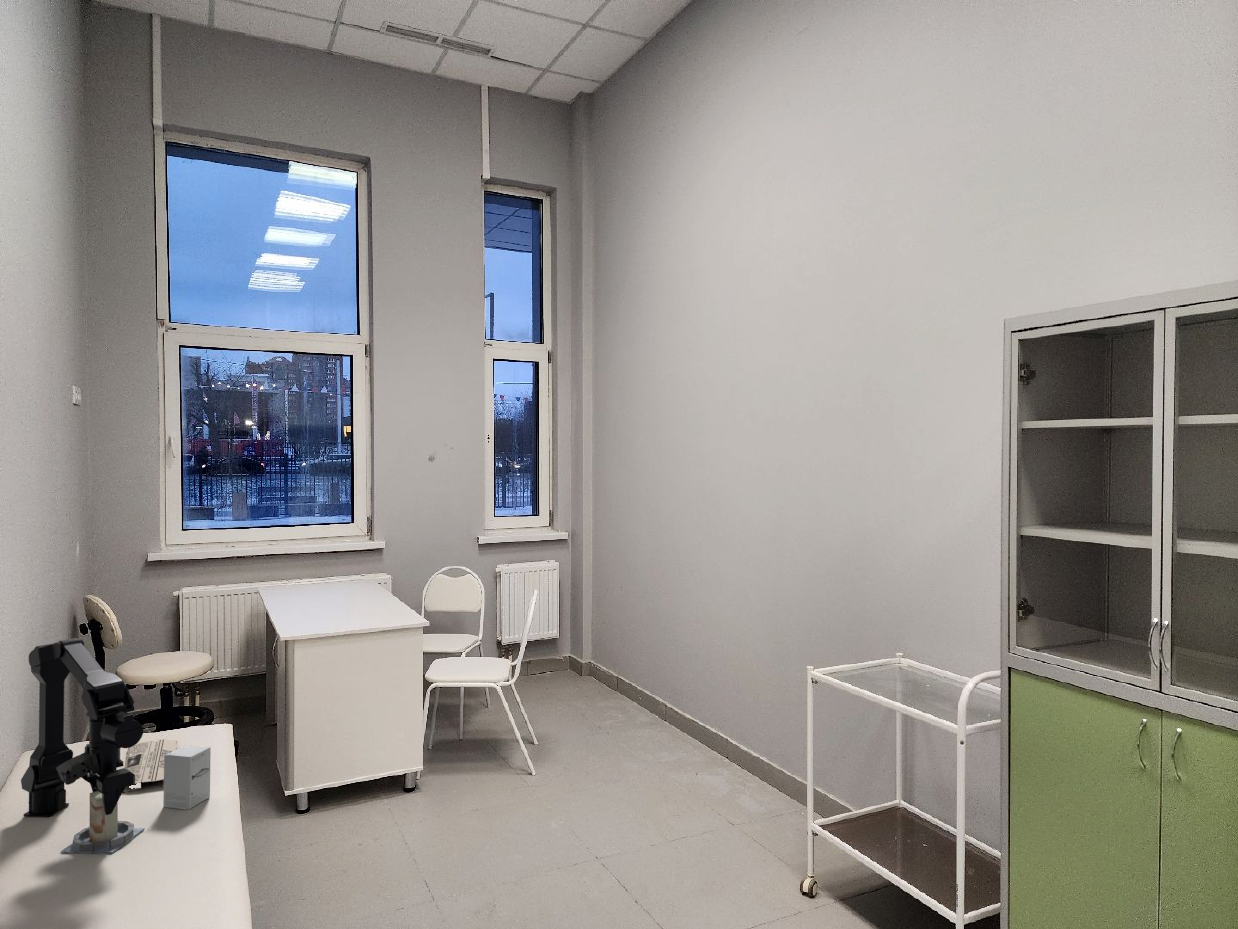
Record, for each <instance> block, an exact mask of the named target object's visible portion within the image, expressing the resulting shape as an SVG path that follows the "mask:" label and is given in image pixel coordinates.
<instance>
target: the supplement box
mask: <svg viewBox="0 0 1238 929" xmlns="http://www.w3.org/2000/svg"><path fill="white" fill-rule="evenodd" d="M211 751H212V750H211V746H201V745H187V744H185V745H183V746H181V747H179V748H177V749H176V750H175V751H173V752H171V753H168V754H166V755H164V785H163V800H162V801H163V802H162V803H163V804H162V805H163V807H164V808H170V809H176V810H177V809H178V810H191V809H192V808H194V807H195V806H197V805H198V804H200V803H202V802H204V801H205V800H207V799H209V798H210V797H211V753H212V752H211Z"/></svg>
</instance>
